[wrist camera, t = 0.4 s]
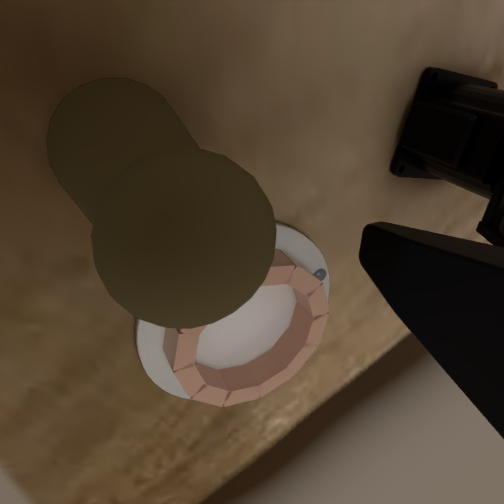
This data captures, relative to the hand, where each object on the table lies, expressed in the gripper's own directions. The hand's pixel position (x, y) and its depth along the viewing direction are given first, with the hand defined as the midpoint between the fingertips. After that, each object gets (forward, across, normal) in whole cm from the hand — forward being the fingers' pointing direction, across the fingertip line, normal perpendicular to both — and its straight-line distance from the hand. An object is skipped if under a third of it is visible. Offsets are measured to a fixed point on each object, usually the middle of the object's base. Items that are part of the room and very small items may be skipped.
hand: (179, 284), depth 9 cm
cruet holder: (+13, -7, +12) cm, 19 cm away
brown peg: (+13, -1, +1) cm, 13 cm away
